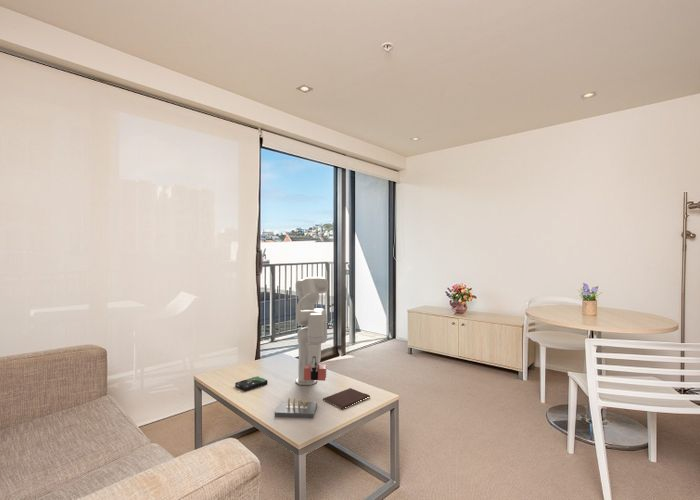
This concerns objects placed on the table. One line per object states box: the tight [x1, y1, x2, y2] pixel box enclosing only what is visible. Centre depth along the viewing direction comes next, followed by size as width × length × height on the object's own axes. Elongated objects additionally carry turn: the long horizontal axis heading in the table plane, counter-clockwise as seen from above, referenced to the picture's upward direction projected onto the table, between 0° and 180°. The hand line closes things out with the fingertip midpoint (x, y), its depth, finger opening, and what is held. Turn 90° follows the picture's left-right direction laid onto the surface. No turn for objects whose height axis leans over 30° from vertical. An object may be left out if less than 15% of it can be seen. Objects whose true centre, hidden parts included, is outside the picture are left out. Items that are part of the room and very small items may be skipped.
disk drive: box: [234, 376, 268, 392], centre depth 199 cm, size 10×3×15 cm
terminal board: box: [274, 397, 318, 419], centre depth 167 cm, size 12×18×6 cm, turn 87°
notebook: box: [322, 387, 371, 410], centre depth 182 cm, size 15×20×2 cm
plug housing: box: [304, 364, 327, 382], centre depth 166 cm, size 5×10×6 cm, turn 89°
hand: (315, 377), depth 166 cm, fingers closed on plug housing, 5 cm apart
